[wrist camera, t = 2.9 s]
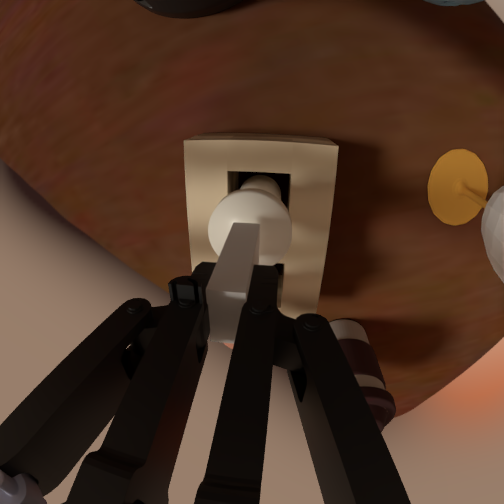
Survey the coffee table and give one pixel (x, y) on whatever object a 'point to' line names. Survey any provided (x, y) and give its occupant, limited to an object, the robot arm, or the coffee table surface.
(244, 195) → the ivory plug
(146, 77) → the coffee table surface
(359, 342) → the coffee cup
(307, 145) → the beech block
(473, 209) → the cup
